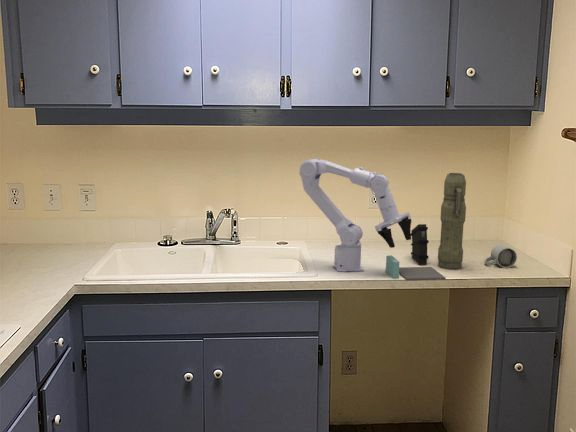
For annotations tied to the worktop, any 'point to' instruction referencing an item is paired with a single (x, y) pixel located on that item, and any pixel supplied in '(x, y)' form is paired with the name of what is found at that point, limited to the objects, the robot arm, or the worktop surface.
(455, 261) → the thermos
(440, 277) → the mat
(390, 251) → the worktop surface
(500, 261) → the ceramic mug
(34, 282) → the worktop surface
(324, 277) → the worktop surface
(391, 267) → the card box
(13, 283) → the worktop surface
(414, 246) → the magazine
